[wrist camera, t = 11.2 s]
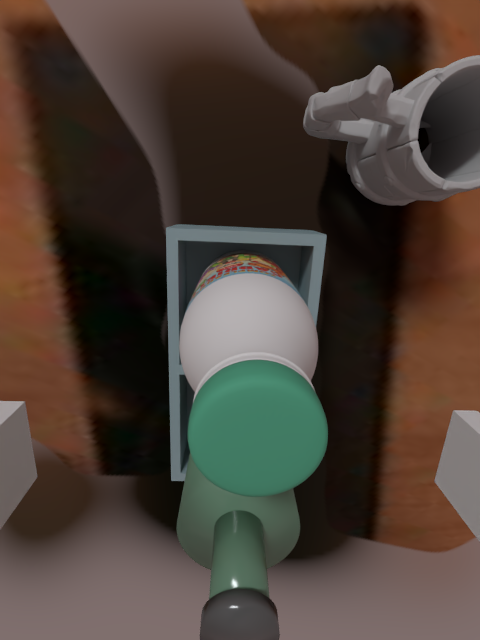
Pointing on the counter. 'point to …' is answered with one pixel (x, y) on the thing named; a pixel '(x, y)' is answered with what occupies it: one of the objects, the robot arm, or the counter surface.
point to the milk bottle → (252, 378)
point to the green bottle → (236, 553)
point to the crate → (182, 278)
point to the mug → (406, 132)
